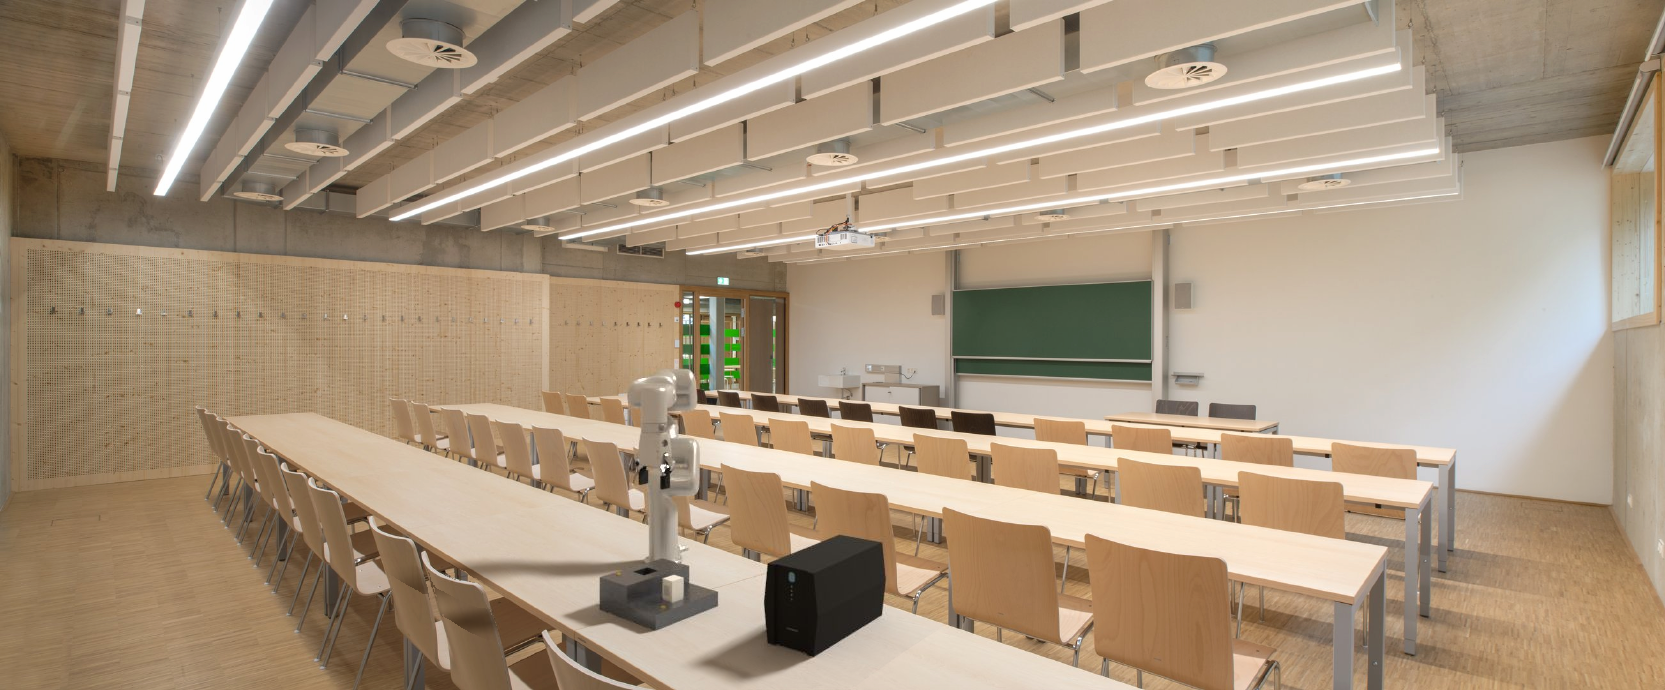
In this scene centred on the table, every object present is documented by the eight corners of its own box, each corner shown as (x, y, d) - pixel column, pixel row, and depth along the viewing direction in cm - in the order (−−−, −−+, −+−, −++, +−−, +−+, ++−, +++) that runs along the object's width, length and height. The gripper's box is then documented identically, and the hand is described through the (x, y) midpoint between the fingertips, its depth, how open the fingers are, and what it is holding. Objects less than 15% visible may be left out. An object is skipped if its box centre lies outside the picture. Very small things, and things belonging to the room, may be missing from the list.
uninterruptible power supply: (763, 642, 181) (763, 562, 181) (838, 602, 209) (839, 532, 209) (817, 658, 172) (817, 574, 172) (888, 614, 200) (889, 541, 200)
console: (662, 587, 220) (662, 557, 220) (718, 605, 206) (718, 572, 206) (599, 609, 203) (599, 575, 203) (655, 630, 188) (655, 594, 188)
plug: (673, 603, 204) (673, 574, 203) (683, 606, 201) (683, 577, 201) (661, 607, 200) (661, 578, 200) (670, 611, 198) (670, 581, 197)
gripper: (683, 429, 212) (683, 488, 212) (645, 424, 222) (645, 480, 223) (663, 432, 206) (663, 492, 206) (624, 427, 216) (625, 484, 217)
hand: (654, 486), depth 215 cm, fingers open, 9 cm apart
